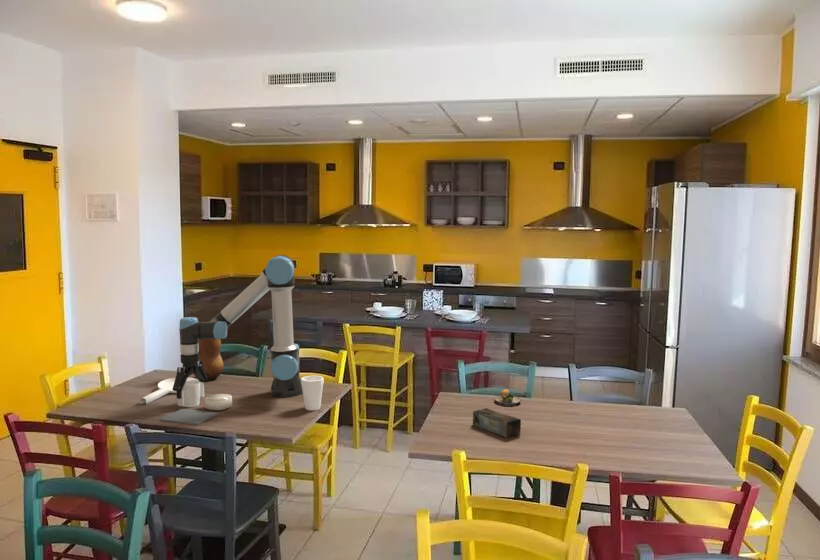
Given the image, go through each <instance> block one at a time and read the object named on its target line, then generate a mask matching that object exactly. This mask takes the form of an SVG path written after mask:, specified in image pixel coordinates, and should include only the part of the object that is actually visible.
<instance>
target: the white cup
mask: <svg viewBox="0 0 820 560" xmlns="http://www.w3.org/2000/svg"><path fill="white" fill-rule="evenodd" d="M182 391H184V406H183V407H184V408H195V407H198V406H200V403H201V400H200V399H201V397H200V381H197V380H190V381H186V382H185V385H184V387H183V389H182Z"/></svg>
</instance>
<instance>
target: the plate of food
mask: <svg viewBox="0 0 820 560" xmlns="http://www.w3.org/2000/svg"><path fill="white" fill-rule="evenodd" d="M493 402H494V404H496V405H498V406H502V407H516V406H517V404H518V403H521V398H520V397H518V396H515V395H513V394H511V392H510V390H509V389H502V390H501V391H500V394H499V395H498V396H495V397H494V399H493Z"/></svg>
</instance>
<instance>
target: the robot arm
mask: <svg viewBox="0 0 820 560" xmlns="http://www.w3.org/2000/svg"><path fill="white" fill-rule="evenodd" d="M295 268H296V267H295V263H294V261H293V259H292V258H291V257H289V256H287V255H284V254H278V255H275V256H273V257H272V258H270V259H269V260H268V262H267V263H266V265H265V267H264V269H262V271H261V274H260V275H259V276H258V277H257V278H256V279H255V280H254V281H253V282H251V283H250V285H248V286H247V287H246V288H244V290H243V291H242V292H240V293H239V294H238V296H235V298H234V299H233V300H231V301H230V302H229V303H228V304H227V305H226V306H225V307H224V308H223V309H222V310H220V312H219V313H218V314H216V315H215V316H214V317H212V318H211V320H210V321H199V319H198V317H195V316H187V317H182V318H180V319H179V328H178V330H179V344H180V346H179V349H180V350H179V352H180V363H181V364H182V366H181V367H180V366H179V367H178V366H177V369H176V374H175V377H174V378H175V382H174V386H173V391H176V392H177V393H176V398H177V400H176V401H177V406H179V407H184V391H182V389H183V387H184V385H185V382H186V380H187V378H188V377H191V375H193V376H195V379H198V380H199V381H200V398H205V383H207V382H208V377H207V375H206V372H205V370H204V367H203V363H202V361H199V353H198V352H199V342H198V339H221V340H222V339H226V338H227V337H228V329H229V327H230V326H231V325H232V324H233V323H235V322H236V321H237V320H238V319H239V318H240V317H241V316H242V315H243V314H244V313H245V312H247V311H248V310H249V309H250V308H251V307H252V306H253V305H254V304H256V303H257V302H258V301H259V300H260V299H261V298H262V297H264V295H265V294H267V293H268V292H269V291H271V310H272V330H273V346H272V347H271V348H270V362H271V363H270V366H269V367H270V368H269V369H270V372H271V374H272V375H273V380H272V383H271V385H270V394H271V396H274V397H280V398H281V397H282V398H283V397H284V398H285V397H288V398H289V397H295V396H299V395H301V394H302V395H303V390H302V385H301V378H302V377H301V376H300V375H301V374H300V345H299V344H298V343H295V342H294V341H295V340H294V339H295V338H294V337H295V336H294V321H293V320H294V319H293V315H294V314H293V298H292V296H293V295H292V290H293V289H294V288H295V287H296V286H295V282H296V281H295Z"/></svg>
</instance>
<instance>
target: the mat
mask: <svg viewBox="0 0 820 560" xmlns="http://www.w3.org/2000/svg"><path fill="white" fill-rule="evenodd" d="M219 414H220V412H217V411H216V412H215V411H214V412H213V411H205V410H198V409H197V410H196V409H188V408H181V409H178V410H176V411H174V412H172V413H170V414H167V415H165V416H163V417H160V418H159V421H160V422H170V423H175V424H176V423H177V424H186V425H193V426H198V425H200V424H202V423H204V422H207V421H208V420H210V419H213V418H215V417H216V416H218V415H219Z"/></svg>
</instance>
